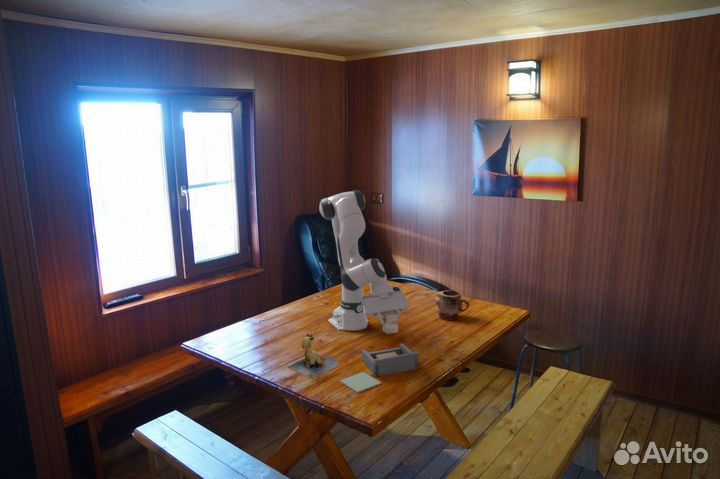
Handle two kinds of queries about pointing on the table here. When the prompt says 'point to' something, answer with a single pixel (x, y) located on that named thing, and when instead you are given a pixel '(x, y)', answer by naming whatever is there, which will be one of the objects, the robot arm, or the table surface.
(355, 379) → the mat
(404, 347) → the nook
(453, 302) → the brown ceramic mug
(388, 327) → the block
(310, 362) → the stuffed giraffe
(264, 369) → the table surface
